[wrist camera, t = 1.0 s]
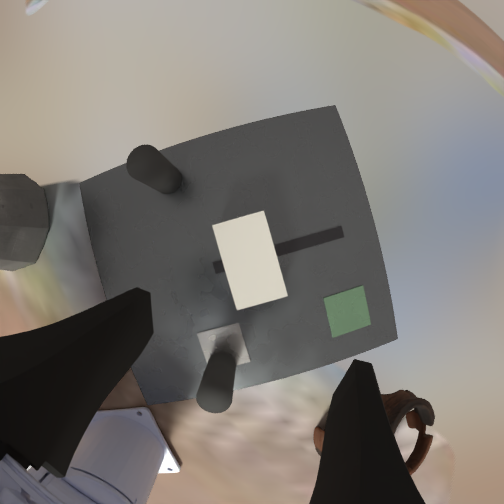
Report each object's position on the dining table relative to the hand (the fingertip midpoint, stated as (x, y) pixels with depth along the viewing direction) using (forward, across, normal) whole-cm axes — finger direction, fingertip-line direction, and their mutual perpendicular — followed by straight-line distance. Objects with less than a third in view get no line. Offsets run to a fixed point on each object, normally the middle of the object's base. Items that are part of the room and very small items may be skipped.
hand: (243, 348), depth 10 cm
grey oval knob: (+6, +2, +10) cm, 12 cm away
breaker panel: (+11, +4, +4) cm, 13 cm away
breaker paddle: (+10, +3, +3) cm, 11 cm away
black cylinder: (+10, +9, -1) cm, 14 cm away
